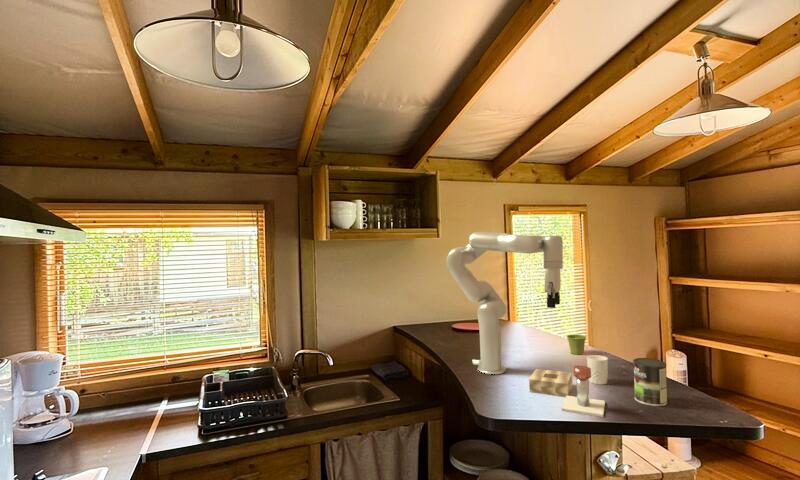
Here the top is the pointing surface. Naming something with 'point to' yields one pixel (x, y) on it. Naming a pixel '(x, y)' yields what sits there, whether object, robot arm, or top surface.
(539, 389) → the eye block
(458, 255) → the robot arm
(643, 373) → the coffee can
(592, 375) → the white cup
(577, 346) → the plant pot
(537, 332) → the top surface
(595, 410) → the pad
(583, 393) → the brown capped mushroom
